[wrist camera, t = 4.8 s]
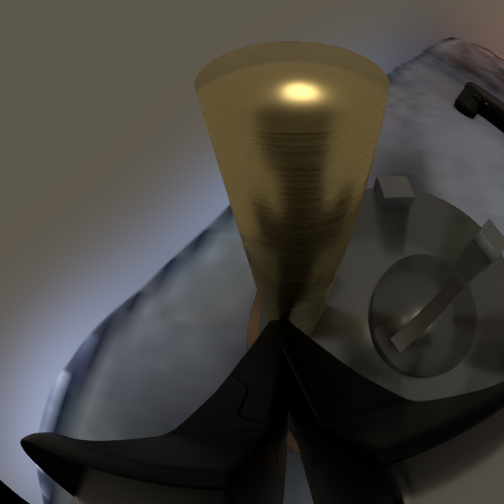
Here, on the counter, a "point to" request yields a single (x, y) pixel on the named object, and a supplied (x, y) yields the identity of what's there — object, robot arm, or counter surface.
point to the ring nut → (350, 224)
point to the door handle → (480, 104)
